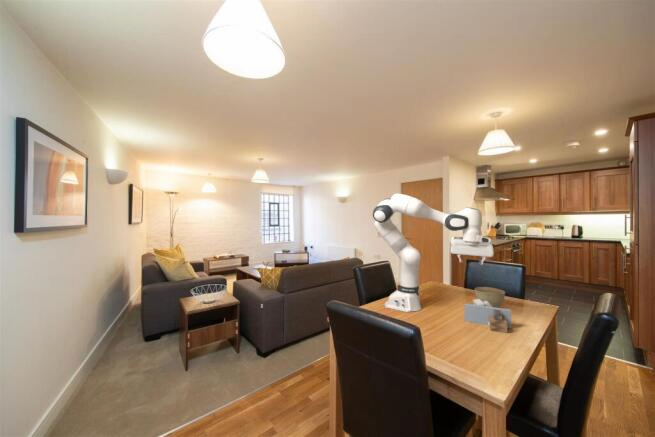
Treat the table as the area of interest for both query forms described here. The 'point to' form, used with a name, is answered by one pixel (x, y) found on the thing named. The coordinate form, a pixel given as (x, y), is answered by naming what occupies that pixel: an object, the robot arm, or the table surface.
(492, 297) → the planter bowl
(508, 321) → the wall board
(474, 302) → the wall hook
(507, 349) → the table surface
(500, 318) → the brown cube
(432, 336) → the table surface
